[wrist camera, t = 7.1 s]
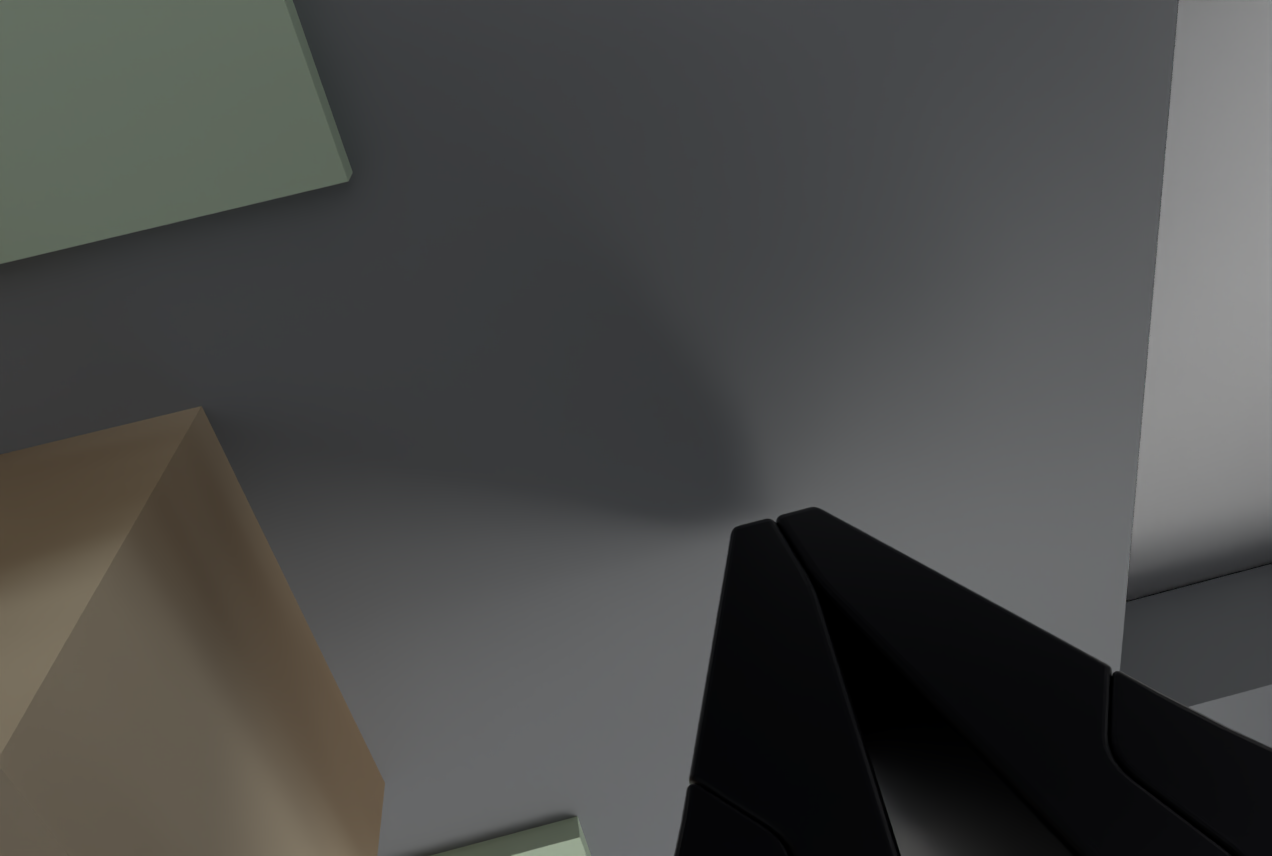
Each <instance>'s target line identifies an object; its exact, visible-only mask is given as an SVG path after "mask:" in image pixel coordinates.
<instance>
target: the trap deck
mask: <svg viewBox="0 0 1272 856" xmlns="http://www.w3.org/2000/svg"><path fill="white" fill-rule="evenodd" d="M1178 1H1179V0H0V454H4V453H9V452H13V451H17V450H21V449H25V448H29V447H34V446H38V445H42V444H46V443H50V442H54V441H58V440H63V439H67V438H71V437H75V436H79V435H83V434H88V433H92V432H96V431H100V430H104V429H108V428H112V427H117V426H121V425H125V424H129V423H133V422H137V421H142V420H146V419H150V418H154V417H158V416H162V415H166V414H171V413H175V412H179V411H183V410H187V409H191V408H196V407H200V406H202V408H203V410H204V412H205V414H206V416H207V418H208V420H209V422H210V424H211V426H212V428H213V430H214V432H215V434H216V437H217V439H218V441H219V443H220V445H221V447H222V449H223V451H224V453H225V455H226V457H227V459H228V461H229V463H230V465H231V467H232V469H233V471H234V474H235V476H236V478H237V480H238V482H239V484H240V486H241V488H242V490H243V492H244V494H245V496H246V498H247V500H248V502H249V504H250V506H251V509H252V511H253V513H254V515H255V517H256V519H257V521H258V523H259V525H260V527H261V529H262V531H263V533H264V535H265V537H266V539H267V541H268V543H269V546H270V548H271V550H272V552H273V554H274V556H275V558H276V560H277V562H278V564H279V566H280V568H281V570H282V572H283V574H284V576H285V578H286V580H287V583H288V585H289V587H290V589H291V591H292V593H293V595H294V597H295V599H296V601H297V603H298V605H299V607H300V609H301V611H302V613H303V615H304V617H305V620H306V622H307V624H308V626H309V628H310V630H311V632H312V634H313V636H314V638H315V640H316V642H317V644H318V646H319V648H320V650H321V652H322V655H323V657H324V659H325V661H326V663H327V665H328V667H329V669H330V671H331V673H332V675H333V677H334V679H335V681H336V683H337V685H338V687H339V689H340V692H341V694H342V696H343V698H344V700H345V702H346V704H347V706H348V708H349V710H350V712H351V714H352V716H353V718H354V720H355V722H356V724H357V726H358V729H359V731H360V733H361V735H362V737H363V739H364V741H365V743H366V745H367V747H368V749H369V751H370V753H371V755H372V757H373V759H374V761H375V763H376V766H377V768H378V770H379V772H380V774H381V776H382V778H383V780H384V782H385V789H384V798H383V807H382V817H381V826H380V836H379V845H378V855H377V856H674V853H675V848H676V843H677V839H678V834H679V829H680V825H681V819H682V813H683V807H684V801H685V796H686V790H687V787H688V786H689V785H690V784H689V775H690V769H691V764H692V758H693V752H694V746H695V740H696V734H697V729H698V723H699V717H700V711H701V705H702V699H703V693H704V688H705V682H706V676H707V670H708V664H709V658H710V652H711V647H712V641H713V635H714V629H715V623H716V617H717V611H718V606H719V600H720V594H721V588H722V582H723V576H724V570H725V565H726V559H727V553H728V547H729V541H730V535H731V532H732V530H733V528H734V527H736V526H739V525H743V524H747V523H751V522H755V521H759V520H762V519H772V520H774V521H775V522H776V519H777V517H778V516H780V515H782V514H786V513H789V512H793V511H797V510H801V509H805V508H809V507H818V508H821V509H823V510H825V511H827V512H828V513H830V514H832V515H834V516H836V517H838V518H839V519H841V520H843V521H845V522H847V523H849V524H850V525H852V526H854V527H856V528H858V529H860V530H862V531H863V532H865V533H867V534H869V535H871V536H873V537H874V538H876V539H878V540H880V541H882V542H884V543H885V544H887V545H889V546H891V547H893V548H895V549H896V550H898V551H900V552H902V553H904V554H906V555H908V556H909V557H911V558H913V559H915V560H917V561H919V562H920V563H922V564H924V565H926V566H928V567H930V568H931V569H933V570H935V571H937V572H939V573H941V574H942V575H944V576H946V577H948V578H950V579H952V580H954V581H955V582H957V583H959V584H961V585H963V586H965V587H966V588H968V589H970V590H972V591H974V592H976V593H977V594H979V595H981V596H983V597H985V598H987V599H988V600H990V601H992V602H994V603H996V604H998V605H1000V606H1001V607H1003V608H1005V609H1007V610H1009V611H1011V612H1012V613H1014V614H1016V615H1018V616H1020V617H1022V618H1023V619H1025V620H1027V621H1029V622H1031V623H1033V624H1034V625H1036V626H1038V627H1040V628H1042V629H1044V630H1046V631H1047V632H1049V633H1051V634H1053V635H1055V636H1057V637H1058V638H1060V639H1062V640H1064V641H1066V642H1068V643H1069V644H1071V645H1073V646H1075V647H1077V648H1079V649H1080V650H1082V651H1084V652H1086V653H1088V654H1090V655H1092V656H1093V657H1095V658H1097V659H1099V660H1101V661H1103V662H1104V663H1106V664H1108V665H1109V666H1110V667H1111V668H1112V674H1113V673H1114V672H1115V671H1122V672H1124V673H1125V674H1127V675H1129V676H1131V677H1133V678H1135V679H1136V680H1138V681H1140V682H1142V683H1144V684H1146V685H1147V686H1149V687H1151V688H1153V689H1155V690H1157V691H1158V692H1160V693H1162V694H1164V695H1166V696H1168V697H1170V698H1172V699H1174V700H1176V701H1178V702H1180V703H1182V704H1184V705H1186V706H1188V707H1189V708H1191V709H1193V710H1195V711H1197V712H1199V713H1201V714H1203V715H1205V716H1207V717H1209V718H1211V719H1213V720H1215V721H1217V722H1219V723H1221V724H1222V725H1224V726H1226V727H1228V728H1230V729H1233V730H1235V731H1237V732H1239V733H1241V734H1243V735H1245V736H1248V737H1250V738H1252V739H1254V740H1256V741H1258V742H1261V743H1263V744H1265V745H1267V746H1269V747H1271V748H1272V564H1269V565H1265V566H1262V567H1258V568H1254V569H1250V570H1246V571H1243V572H1239V573H1235V574H1231V575H1227V576H1224V577H1220V578H1216V579H1212V580H1209V581H1205V582H1201V583H1197V584H1193V585H1190V586H1186V587H1182V588H1178V589H1174V590H1171V591H1167V592H1163V593H1159V594H1155V595H1152V596H1148V597H1144V598H1140V599H1137V600H1133V601H1129V602H1126V595H1127V584H1128V573H1129V561H1130V550H1131V538H1132V527H1133V515H1134V504H1135V493H1136V481H1137V470H1138V458H1139V447H1140V435H1141V424H1142V413H1143V401H1144V390H1145V378H1146V367H1147V356H1148V344H1149V333H1150V321H1151V310H1152V298H1153V287H1154V276H1155V264H1156V253H1157V241H1158V230H1159V218H1160V207H1161V196H1162V184H1163V173H1164V161H1165V150H1166V138H1167V127H1168V116H1169V104H1170V93H1171V81H1172V70H1173V59H1174V47H1175V36H1176V24H1177V13H1178Z"/></svg>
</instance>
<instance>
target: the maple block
mask: <svg viewBox="0 0 1272 856" xmlns="http://www.w3.org/2000/svg"><path fill="white" fill-rule="evenodd" d="M384 789H385V782H384V780H383V778H382V776H381V774H380V772H379V770H378V768H377V766H376V763H375V761H374V759H373V757H372V755H371V753H370V751H369V749H368V747H367V745H366V743H365V741H364V739H363V737H362V735H361V733H360V731H359V729H358V726H357V724H356V722H355V720H354V718H353V716H352V714H351V712H350V710H349V708H348V706H347V704H346V702H345V700H344V698H343V696H342V694H341V692H340V689H339V687H338V685H337V683H336V681H335V679H334V677H333V675H332V673H331V671H330V669H329V667H328V665H327V663H326V661H325V659H324V657H323V655H322V652H321V650H320V648H319V646H318V644H317V642H316V640H315V638H314V636H313V634H312V632H311V630H310V628H309V626H308V624H307V622H306V620H305V617H304V615H303V613H302V611H301V609H300V607H299V605H298V603H297V601H296V599H295V597H294V595H293V593H292V591H291V589H290V587H289V585H288V583H287V580H286V578H285V576H284V574H283V572H282V570H281V568H280V566H279V564H278V562H277V560H276V558H275V556H274V554H273V552H272V550H271V548H270V546H269V543H268V541H267V539H266V537H265V535H264V533H263V531H262V529H261V527H260V525H259V523H258V521H257V519H256V517H255V515H254V513H253V511H252V509H251V506H250V504H249V502H248V500H247V498H246V496H245V494H244V492H243V490H242V488H241V486H240V484H239V482H238V480H237V478H236V476H235V474H234V471H233V469H232V467H231V465H230V463H229V461H228V459H227V457H226V455H225V453H224V451H223V449H222V447H221V445H220V443H219V441H218V439H217V437H216V434H215V432H214V430H213V428H212V426H211V424H210V422H209V420H208V418H207V416H206V414H205V412H204V410H203V408H202V406H200V407H196V408H191V409H187V410H183V411H179V412H175V413H171V414H166V415H162V416H158V417H154V418H150V419H146V420H142V421H137V422H133V423H129V424H125V425H121V426H117V427H112V428H108V429H104V430H100V431H96V432H92V433H88V434H83V435H79V436H75V437H71V438H67V439H63V440H58V441H54V442H50V443H46V444H42V445H38V446H34V447H29V448H25V449H21V450H17V451H13V452H9V453H4V454H0V856H377V855H378V845H379V836H380V826H381V817H382V807H383V798H384Z"/></svg>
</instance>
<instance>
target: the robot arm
mask: <svg viewBox="0 0 1272 856" xmlns="http://www.w3.org/2000/svg"><path fill="white" fill-rule="evenodd" d="M689 784H690V785H689V786H688V787H687V790H686V796H685V801H684V807H683V813H682V819H681V825H680V829H679V834H678V839H677V843H676V848H675V853H674V856H1272V748H1271V747H1269V746H1267V745H1265V744H1263V743H1261V742H1258V741H1256V740H1254V739H1252V738H1250V737H1248V736H1245V735H1243V734H1241V733H1239V732H1237V731H1235V730H1233V729H1230V728H1228V727H1226V726H1224V725H1222V724H1221V723H1219V722H1217V721H1215V720H1213V719H1211V718H1209V717H1207V716H1205V715H1203V714H1201V713H1199V712H1197V711H1195V710H1193V709H1191V708H1189V707H1188V706H1186V705H1184V704H1182V703H1180V702H1178V701H1176V700H1174V699H1172V698H1170V697H1168V696H1166V695H1164V694H1162V693H1160V692H1158V691H1157V690H1155V689H1153V688H1151V687H1149V686H1147V685H1146V684H1144V683H1142V682H1140V681H1138V680H1136V679H1135V678H1133V677H1131V676H1129V675H1127V674H1125V673H1124V672H1122V671H1115V672H1114V673H1113V674H1112V668H1111V667H1110V666H1109V665H1108V664H1106V663H1104V662H1103V661H1101V660H1099V659H1097V658H1095V657H1093V656H1092V655H1090V654H1088V653H1086V652H1084V651H1082V650H1080V649H1079V648H1077V647H1075V646H1073V645H1071V644H1069V643H1068V642H1066V641H1064V640H1062V639H1060V638H1058V637H1057V636H1055V635H1053V634H1051V633H1049V632H1047V631H1046V630H1044V629H1042V628H1040V627H1038V626H1036V625H1034V624H1033V623H1031V622H1029V621H1027V620H1025V619H1023V618H1022V617H1020V616H1018V615H1016V614H1014V613H1012V612H1011V611H1009V610H1007V609H1005V608H1003V607H1001V606H1000V605H998V604H996V603H994V602H992V601H990V600H988V599H987V598H985V597H983V596H981V595H979V594H977V593H976V592H974V591H972V590H970V589H968V588H966V587H965V586H963V585H961V584H959V583H957V582H955V581H954V580H952V579H950V578H948V577H946V576H944V575H942V574H941V573H939V572H937V571H935V570H933V569H931V568H930V567H928V566H926V565H924V564H922V563H920V562H919V561H917V560H915V559H913V558H911V557H909V556H908V555H906V554H904V553H902V552H900V551H898V550H896V549H895V548H893V547H891V546H889V545H887V544H885V543H884V542H882V541H880V540H878V539H876V538H874V537H873V536H871V535H869V534H867V533H865V532H863V531H862V530H860V529H858V528H856V527H854V526H852V525H850V524H849V523H847V522H845V521H843V520H841V519H839V518H838V517H836V516H834V515H832V514H830V513H828V512H827V511H825V510H823V509H821V508H818V507H809V508H805V509H801V510H797V511H793V512H789V513H786V514H782V515H780V516H778V517H777V519H776V522H775V521H774V520H772V519H762V520H759V521H755V522H751V523H747V524H743V525H739V526H736V527H734V528H733V530H732V532H731V535H730V541H729V547H728V553H727V559H726V565H725V570H724V576H723V582H722V588H721V594H720V600H719V606H718V611H717V617H716V623H715V629H714V635H713V641H712V647H711V652H710V658H709V664H708V670H707V676H706V682H705V688H704V693H703V699H702V705H701V711H700V717H699V723H698V729H697V734H696V740H695V746H694V752H693V758H692V764H691V769H690V775H689Z"/></svg>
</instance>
